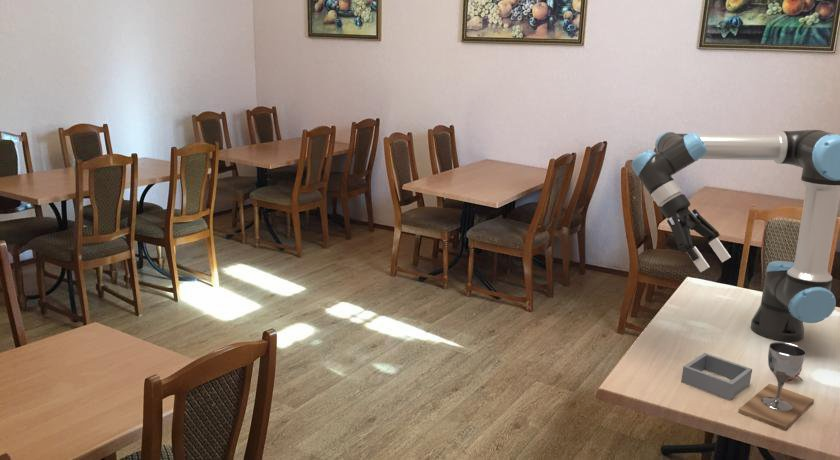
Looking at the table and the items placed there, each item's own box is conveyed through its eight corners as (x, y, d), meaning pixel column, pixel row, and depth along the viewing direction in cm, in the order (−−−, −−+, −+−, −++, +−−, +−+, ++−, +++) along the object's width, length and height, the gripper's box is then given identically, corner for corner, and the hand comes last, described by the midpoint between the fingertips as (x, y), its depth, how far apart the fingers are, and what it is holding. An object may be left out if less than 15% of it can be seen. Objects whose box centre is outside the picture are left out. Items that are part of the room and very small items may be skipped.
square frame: (702, 367, 197) (704, 352, 195) (749, 384, 188) (752, 369, 187) (680, 381, 188) (683, 366, 187) (729, 400, 179) (732, 384, 178)
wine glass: (798, 413, 172) (810, 357, 168) (764, 409, 173) (774, 353, 169) (789, 398, 179) (799, 344, 175) (755, 394, 181) (765, 340, 177)
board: (768, 386, 187) (769, 383, 187) (813, 402, 179) (814, 399, 179) (738, 412, 173) (738, 408, 173) (785, 430, 166) (785, 426, 165)
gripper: (681, 201, 208) (724, 262, 202) (639, 214, 191) (684, 281, 185) (701, 187, 203) (745, 249, 197) (659, 198, 186) (707, 266, 180)
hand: (716, 264), depth 191 cm, fingers open, 13 cm apart
